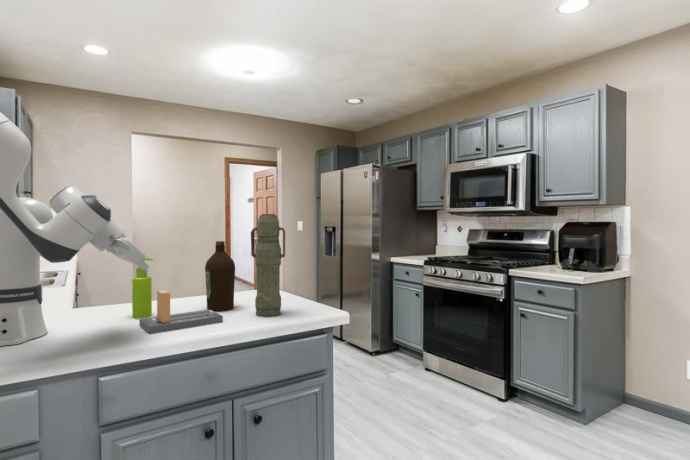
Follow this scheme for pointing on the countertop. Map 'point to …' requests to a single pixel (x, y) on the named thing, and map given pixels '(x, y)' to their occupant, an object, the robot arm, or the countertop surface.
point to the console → (181, 321)
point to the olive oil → (220, 280)
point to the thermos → (268, 265)
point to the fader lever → (163, 306)
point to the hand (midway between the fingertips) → (146, 268)
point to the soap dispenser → (141, 294)
